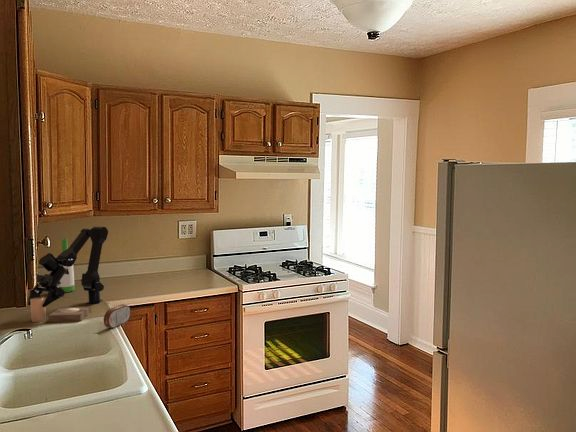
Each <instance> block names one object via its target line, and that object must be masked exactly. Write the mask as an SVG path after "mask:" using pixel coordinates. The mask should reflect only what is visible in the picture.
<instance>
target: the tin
mask: <svg viewBox="0 0 576 432" xmlns="http://www.w3.org/2000/svg"><path fill="white" fill-rule="evenodd" d="M131 313H132V312H131V307H130V306H129V305H127V304H120V305H116V306H113V307H110V308H108V309H107V311H106V312H105V314H103V315H104V316H103V324H104V326H105V327H106V329H108V328H109V329H115V328H117V327H120V326H122V325H124V324H126V323H128V322H129V321H130V318H131Z"/></svg>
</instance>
